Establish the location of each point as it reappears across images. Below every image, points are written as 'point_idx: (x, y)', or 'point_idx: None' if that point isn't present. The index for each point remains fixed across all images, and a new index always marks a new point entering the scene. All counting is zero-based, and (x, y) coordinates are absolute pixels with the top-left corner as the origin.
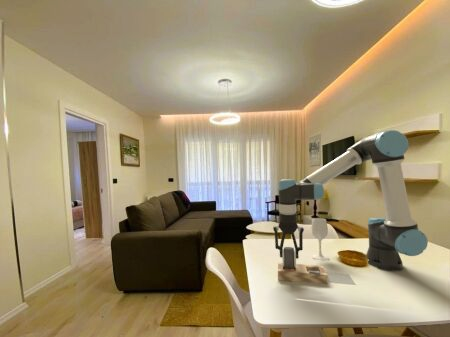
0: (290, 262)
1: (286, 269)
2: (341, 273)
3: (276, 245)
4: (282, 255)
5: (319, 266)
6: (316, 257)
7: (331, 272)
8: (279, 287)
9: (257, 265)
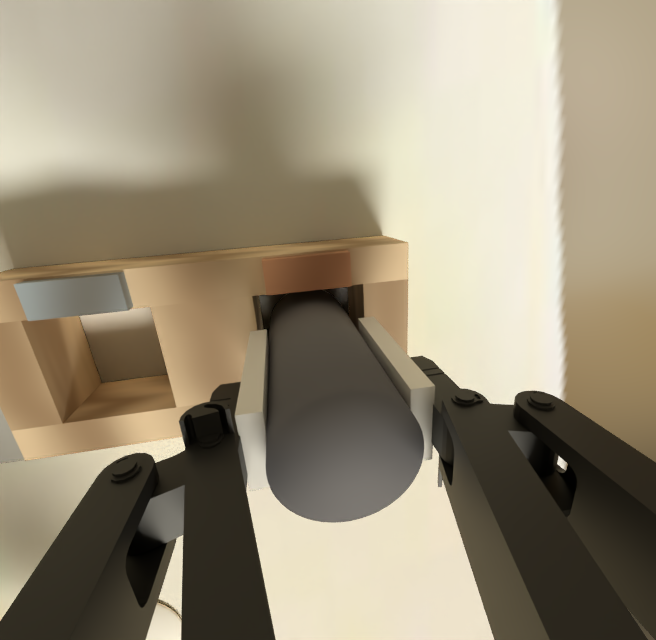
0: (304, 322)
1: (335, 264)
2: None
3: (575, 425)
4: (408, 357)
5: (56, 442)
6: None
7: (12, 460)
8: (368, 114)
9: None
